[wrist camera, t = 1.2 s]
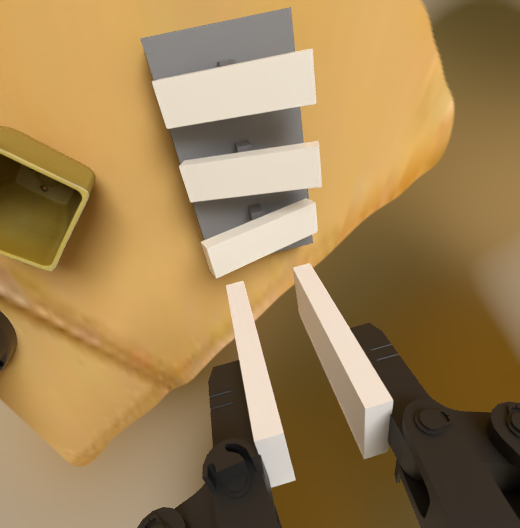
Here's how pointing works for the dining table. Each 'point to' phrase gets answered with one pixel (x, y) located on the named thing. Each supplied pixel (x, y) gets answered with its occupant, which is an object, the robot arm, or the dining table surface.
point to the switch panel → (239, 128)
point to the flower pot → (38, 199)
